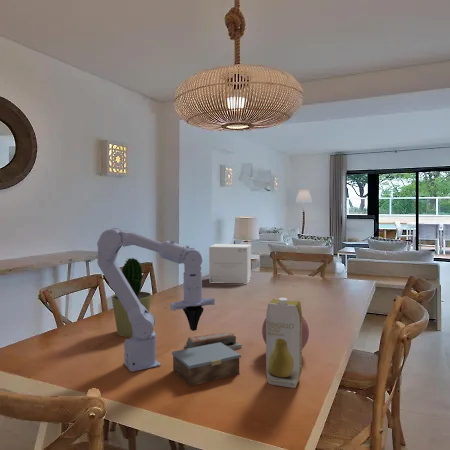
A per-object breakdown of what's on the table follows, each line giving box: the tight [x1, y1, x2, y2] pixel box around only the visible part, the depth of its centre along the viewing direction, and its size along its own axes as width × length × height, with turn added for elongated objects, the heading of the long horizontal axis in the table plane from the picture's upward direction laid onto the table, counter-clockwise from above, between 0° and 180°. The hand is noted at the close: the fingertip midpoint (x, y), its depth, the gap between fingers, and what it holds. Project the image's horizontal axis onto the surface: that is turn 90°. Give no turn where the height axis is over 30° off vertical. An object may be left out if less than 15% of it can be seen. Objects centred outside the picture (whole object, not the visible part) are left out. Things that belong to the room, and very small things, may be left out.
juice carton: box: [265, 297, 303, 389], centre depth 111 cm, size 9×8×24 cm
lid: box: [171, 342, 242, 369], centre depth 117 cm, size 17×13×1 cm
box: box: [172, 355, 240, 387], centre depth 118 cm, size 16×12×5 cm
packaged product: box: [184, 331, 243, 351], centre depth 139 cm, size 18×5×10 cm
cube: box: [208, 243, 252, 285], centre depth 266 cm, size 25×21×24 cm
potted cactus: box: [111, 257, 152, 338], centre depth 156 cm, size 15×15×30 cm
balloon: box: [261, 315, 310, 350], centre depth 130 cm, size 15×20×15 cm
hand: (193, 329), depth 125 cm, fingers closed
